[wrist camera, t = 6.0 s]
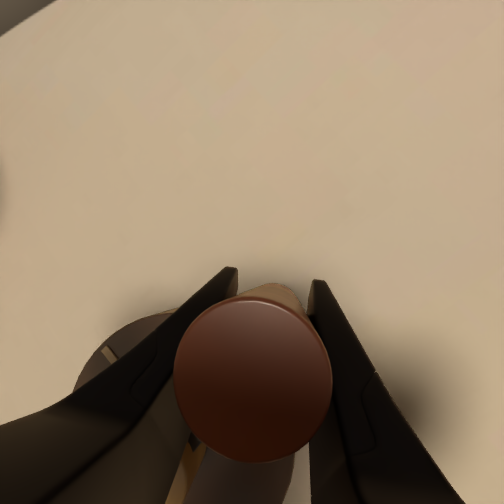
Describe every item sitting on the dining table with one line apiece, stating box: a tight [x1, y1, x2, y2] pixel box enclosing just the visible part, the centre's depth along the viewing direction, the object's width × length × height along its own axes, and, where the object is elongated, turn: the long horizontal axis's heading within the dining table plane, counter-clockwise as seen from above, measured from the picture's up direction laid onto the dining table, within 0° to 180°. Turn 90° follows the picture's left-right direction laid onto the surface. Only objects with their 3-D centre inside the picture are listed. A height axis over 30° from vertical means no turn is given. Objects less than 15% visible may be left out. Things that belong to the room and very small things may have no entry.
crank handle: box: [165, 283, 333, 504], centre depth 9 cm, size 11×4×9 cm, turn 141°
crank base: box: [73, 308, 295, 504], centre depth 15 cm, size 12×12×4 cm
